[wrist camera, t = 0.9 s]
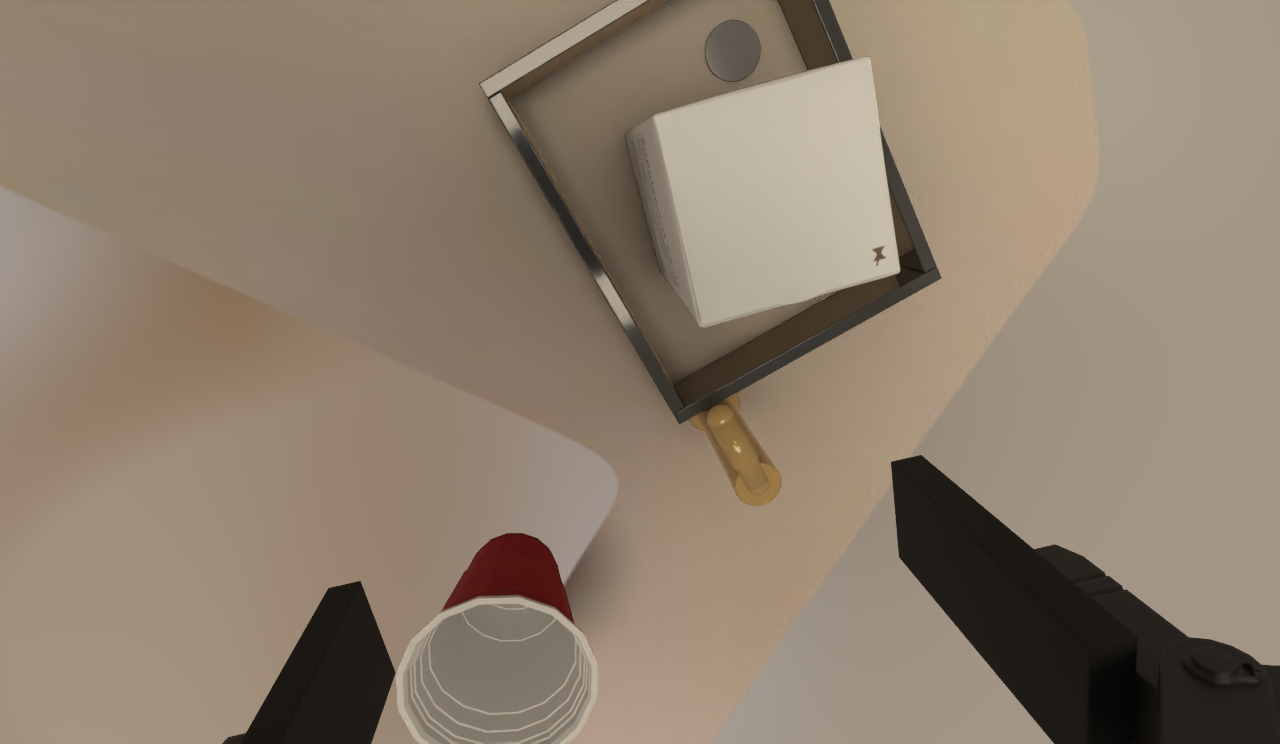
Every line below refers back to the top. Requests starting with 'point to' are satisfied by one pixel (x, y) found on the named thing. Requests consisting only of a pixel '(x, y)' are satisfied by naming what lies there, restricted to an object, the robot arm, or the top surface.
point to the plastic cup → (500, 656)
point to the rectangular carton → (768, 192)
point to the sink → (716, 385)
